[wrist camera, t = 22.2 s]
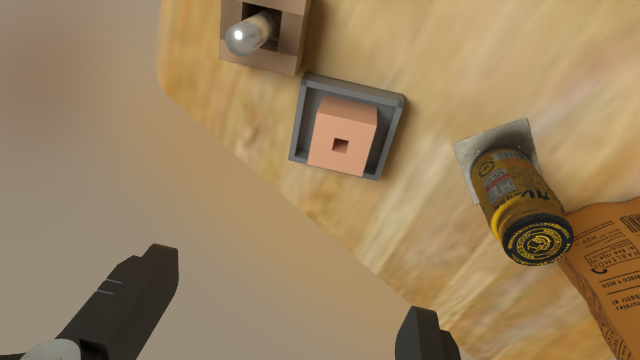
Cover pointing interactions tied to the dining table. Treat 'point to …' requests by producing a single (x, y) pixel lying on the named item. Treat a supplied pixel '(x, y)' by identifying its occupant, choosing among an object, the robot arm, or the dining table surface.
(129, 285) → the robot arm
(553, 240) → the condiment
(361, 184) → the dining table surface
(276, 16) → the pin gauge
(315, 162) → the block
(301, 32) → the go block
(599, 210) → the coffee package
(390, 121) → the tray
